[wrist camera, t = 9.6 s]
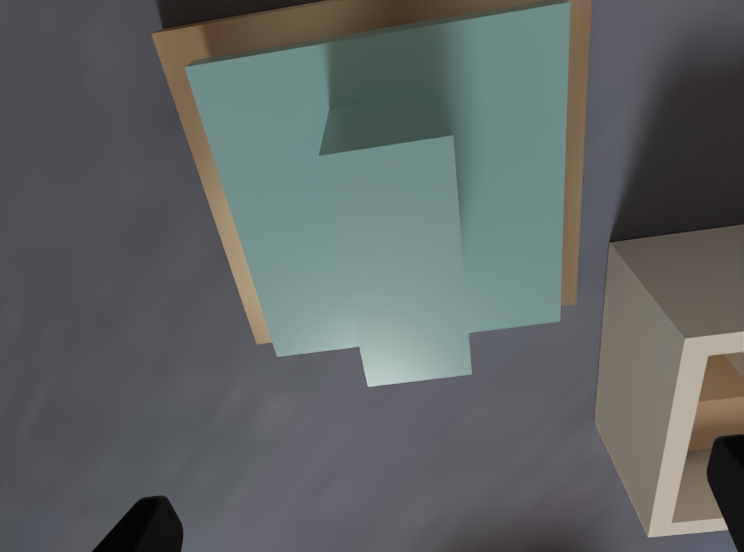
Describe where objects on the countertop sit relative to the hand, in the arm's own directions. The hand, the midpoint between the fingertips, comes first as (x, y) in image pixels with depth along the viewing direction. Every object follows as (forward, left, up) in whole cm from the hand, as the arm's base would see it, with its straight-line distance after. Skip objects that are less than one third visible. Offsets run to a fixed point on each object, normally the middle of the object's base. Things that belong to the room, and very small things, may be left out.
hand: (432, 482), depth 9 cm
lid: (0, 0, -12) cm, 12 cm away
